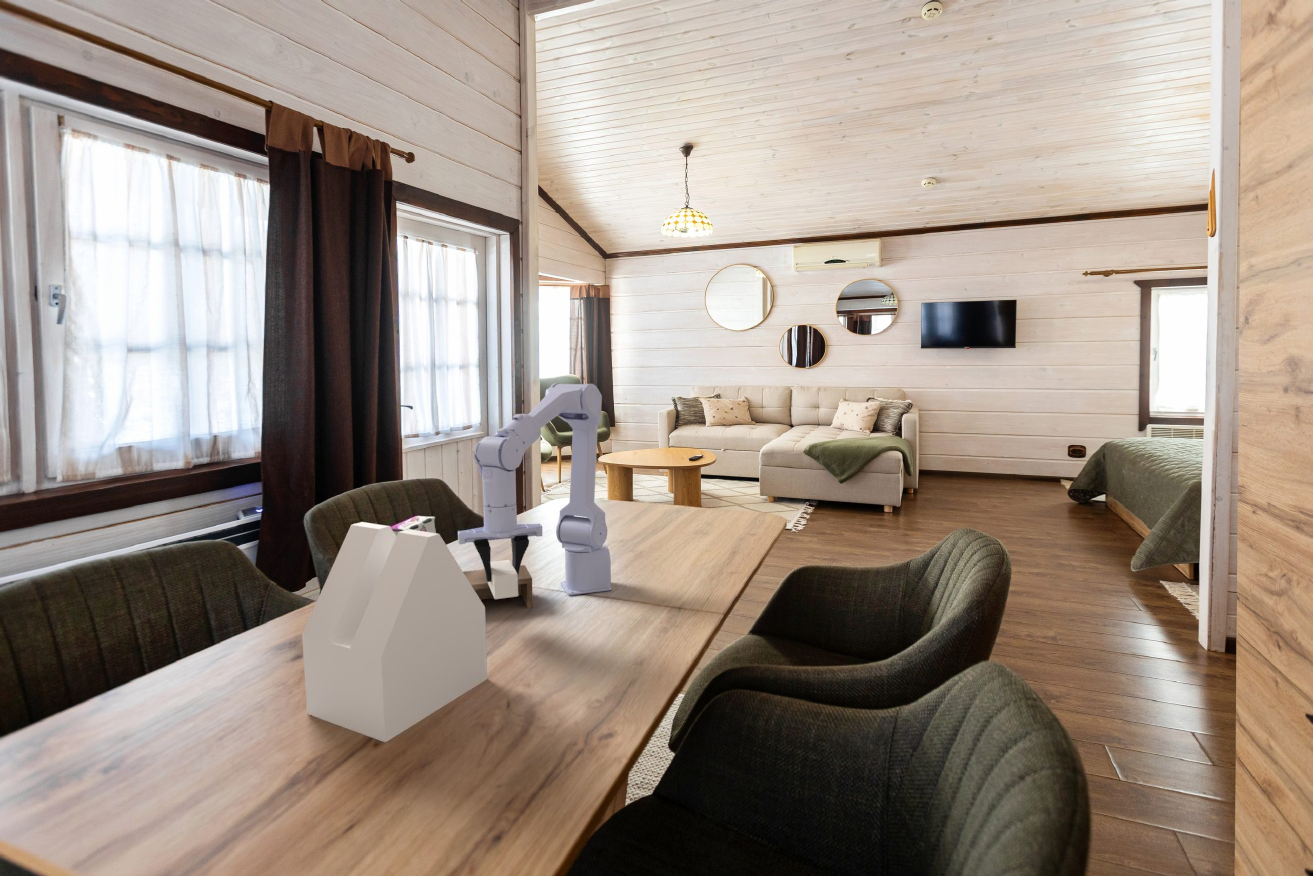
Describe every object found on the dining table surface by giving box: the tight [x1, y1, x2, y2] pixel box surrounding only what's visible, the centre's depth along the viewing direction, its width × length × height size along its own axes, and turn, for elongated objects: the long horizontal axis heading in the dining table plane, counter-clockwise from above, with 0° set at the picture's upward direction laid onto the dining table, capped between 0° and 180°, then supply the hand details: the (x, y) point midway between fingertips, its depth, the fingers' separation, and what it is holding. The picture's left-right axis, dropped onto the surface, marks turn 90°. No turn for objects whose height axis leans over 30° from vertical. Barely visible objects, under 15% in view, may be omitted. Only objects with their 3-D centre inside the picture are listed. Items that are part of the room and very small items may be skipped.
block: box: [488, 559, 519, 600], centre depth 119 cm, size 4×9×4 cm, turn 22°
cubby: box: [463, 564, 534, 609], centre depth 133 cm, size 14×9×6 cm, turn 110°
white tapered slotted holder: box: [301, 521, 488, 743], centre depth 96 cm, size 19×15×25 cm
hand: (502, 578), depth 119 cm, fingers closed on block, 4 cm apart
